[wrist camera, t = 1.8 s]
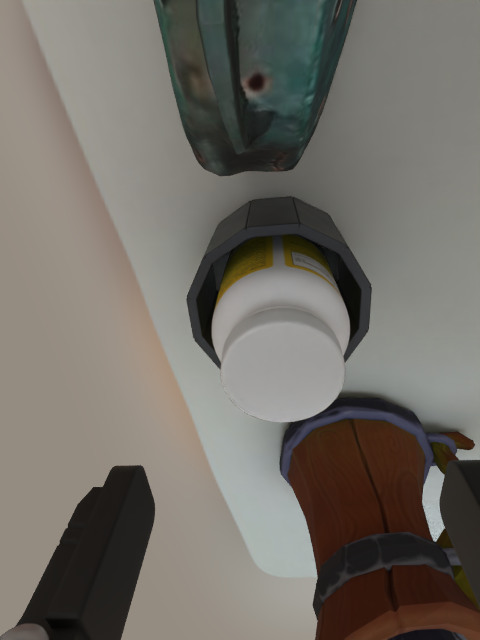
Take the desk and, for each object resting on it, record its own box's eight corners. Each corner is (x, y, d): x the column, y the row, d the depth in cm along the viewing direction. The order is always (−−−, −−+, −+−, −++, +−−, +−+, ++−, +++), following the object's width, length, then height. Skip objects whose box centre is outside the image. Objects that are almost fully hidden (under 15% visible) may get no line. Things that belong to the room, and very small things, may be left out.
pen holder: (196, 204, 22) (173, 233, 17) (350, 191, 21) (377, 216, 16) (215, 333, 26) (202, 389, 21) (345, 327, 25) (365, 383, 20)
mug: (524, 364, 26) (789, 624, 13) (509, 478, 31) (686, 745, 18) (265, 400, 29) (262, 641, 16) (291, 498, 34) (305, 741, 21)
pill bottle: (229, 314, 25) (205, 437, 16) (223, 222, 23) (189, 303, 13) (323, 313, 25) (357, 439, 15) (329, 219, 22) (377, 301, 12)
